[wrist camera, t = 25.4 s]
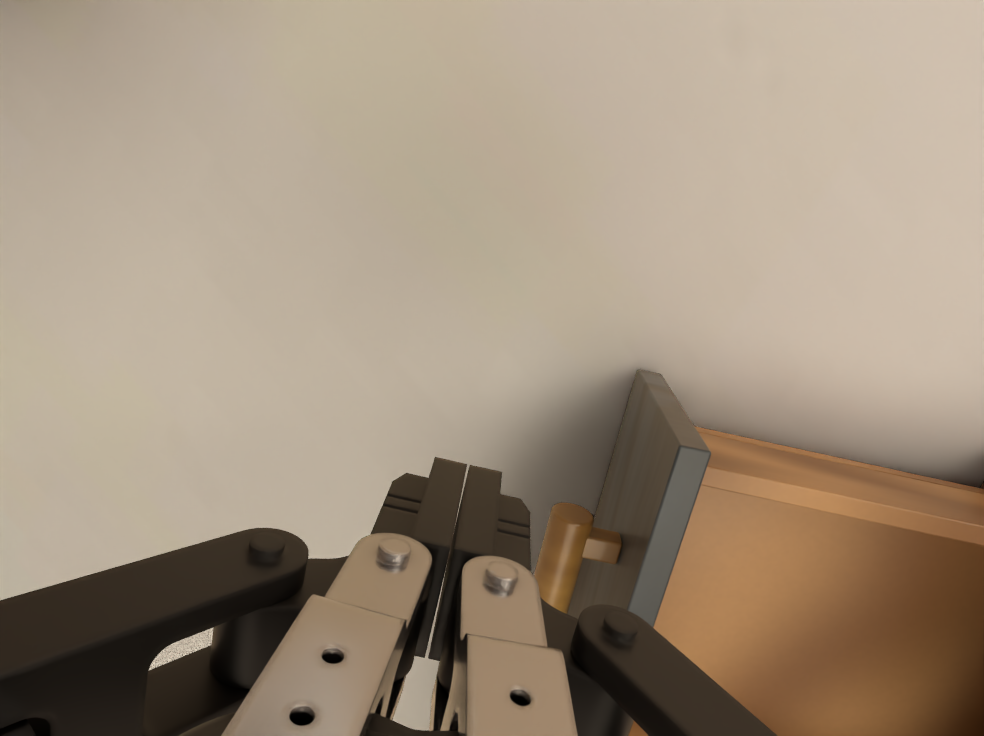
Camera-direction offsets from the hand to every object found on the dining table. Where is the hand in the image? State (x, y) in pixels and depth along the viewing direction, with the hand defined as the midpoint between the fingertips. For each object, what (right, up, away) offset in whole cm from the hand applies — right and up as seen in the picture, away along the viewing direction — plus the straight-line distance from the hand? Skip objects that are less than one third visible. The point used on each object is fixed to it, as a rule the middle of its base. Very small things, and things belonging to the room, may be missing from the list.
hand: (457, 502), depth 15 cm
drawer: (+11, -5, +9) cm, 15 cm away
